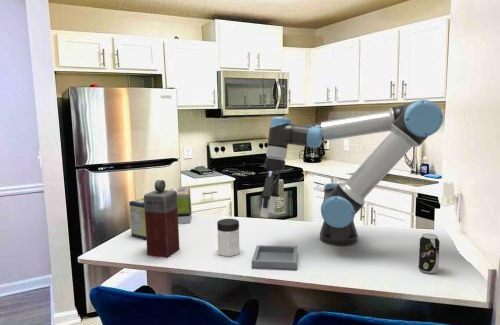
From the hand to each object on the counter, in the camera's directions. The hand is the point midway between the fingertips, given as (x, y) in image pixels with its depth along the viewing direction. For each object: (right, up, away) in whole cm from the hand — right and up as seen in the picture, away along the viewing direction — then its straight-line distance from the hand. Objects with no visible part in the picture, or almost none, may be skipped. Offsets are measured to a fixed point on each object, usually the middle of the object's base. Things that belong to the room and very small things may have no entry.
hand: (267, 215), depth 140 cm
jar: (-15, -15, +1) cm, 21 cm away
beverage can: (+51, -16, -18) cm, 57 cm away
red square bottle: (-41, -15, +3) cm, 43 cm away
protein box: (-50, -12, +25) cm, 57 cm away
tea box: (-41, -9, +45) cm, 61 cm away
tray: (+2, -15, -7) cm, 17 cm away
